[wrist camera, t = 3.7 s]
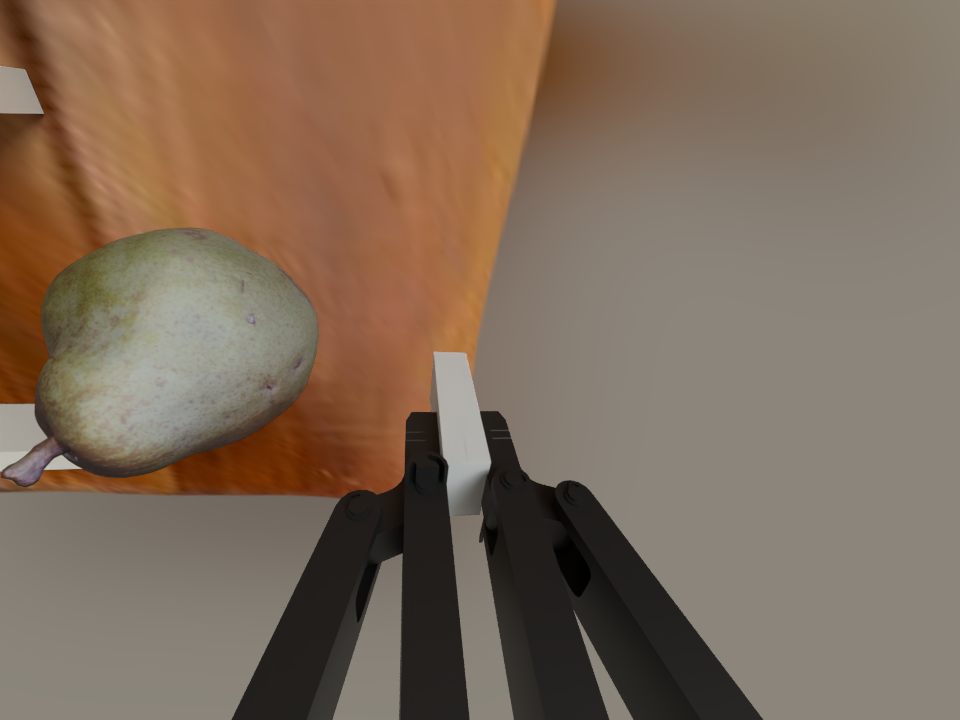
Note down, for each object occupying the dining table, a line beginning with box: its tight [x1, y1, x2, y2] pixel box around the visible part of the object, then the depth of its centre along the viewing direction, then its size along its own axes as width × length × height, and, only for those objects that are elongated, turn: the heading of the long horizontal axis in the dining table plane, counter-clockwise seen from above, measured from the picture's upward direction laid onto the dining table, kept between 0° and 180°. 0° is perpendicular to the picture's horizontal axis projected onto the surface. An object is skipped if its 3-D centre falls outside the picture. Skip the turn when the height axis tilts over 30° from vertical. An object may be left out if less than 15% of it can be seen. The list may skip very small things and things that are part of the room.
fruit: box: [1, 228, 319, 487], centre depth 16 cm, size 10×9×12 cm
